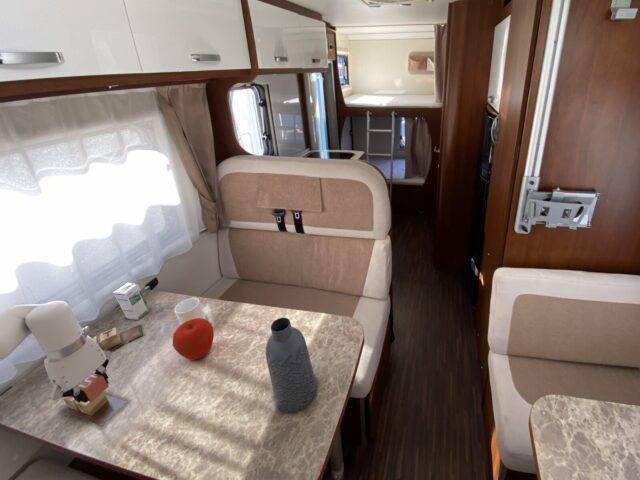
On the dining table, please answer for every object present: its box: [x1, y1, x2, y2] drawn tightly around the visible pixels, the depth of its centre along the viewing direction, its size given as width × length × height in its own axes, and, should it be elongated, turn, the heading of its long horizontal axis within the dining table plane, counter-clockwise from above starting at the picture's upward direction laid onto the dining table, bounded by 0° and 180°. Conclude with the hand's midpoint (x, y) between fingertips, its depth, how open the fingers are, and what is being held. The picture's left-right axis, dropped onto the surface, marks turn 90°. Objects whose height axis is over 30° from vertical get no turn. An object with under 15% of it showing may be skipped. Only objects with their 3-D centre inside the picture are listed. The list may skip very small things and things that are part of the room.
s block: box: [79, 372, 110, 402], centre depth 85 cm, size 4×4×5 cm
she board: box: [61, 391, 128, 427], centre depth 90 cm, size 17×7×6 cm, turn 74°
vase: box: [265, 317, 317, 414], centre depth 87 cm, size 12×12×28 cm
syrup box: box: [113, 282, 151, 320], centre depth 123 cm, size 6×6×14 cm
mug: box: [173, 297, 207, 326], centre depth 118 cm, size 12×8×10 cm
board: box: [91, 324, 144, 352], centre depth 111 cm, size 17×7×6 cm, turn 134°
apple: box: [172, 318, 215, 361], centre depth 104 cm, size 12×12×14 cm
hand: (93, 391), depth 85 cm, fingers closed on s block, 4 cm apart
